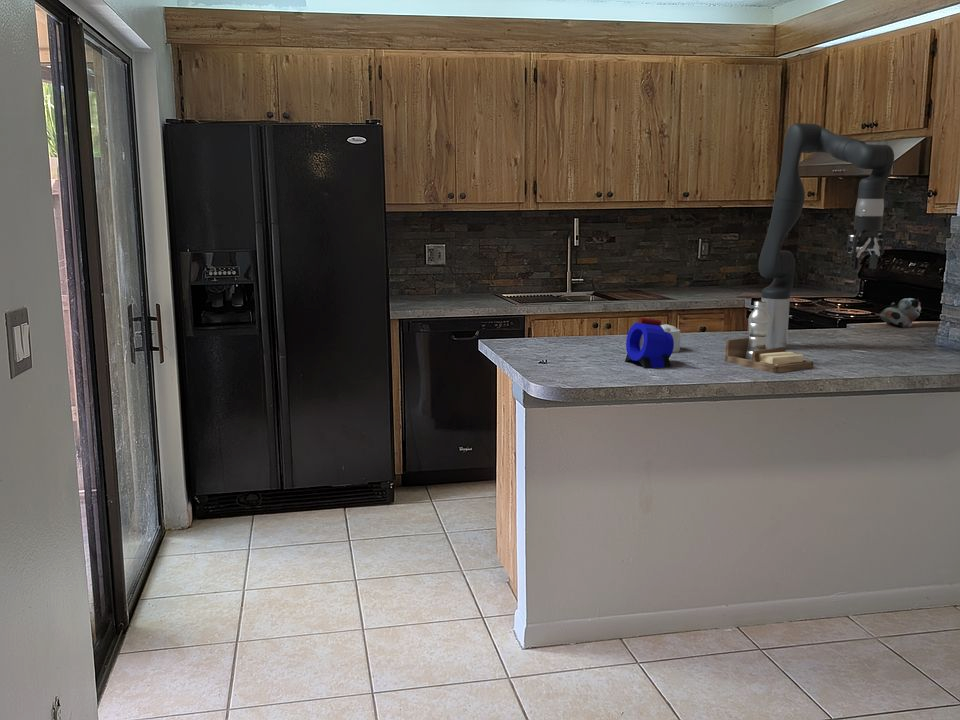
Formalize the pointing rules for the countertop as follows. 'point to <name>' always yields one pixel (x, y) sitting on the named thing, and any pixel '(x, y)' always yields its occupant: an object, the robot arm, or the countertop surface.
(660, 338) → the alarm clock
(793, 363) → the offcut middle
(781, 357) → the offcut top
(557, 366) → the countertop surface
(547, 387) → the countertop surface
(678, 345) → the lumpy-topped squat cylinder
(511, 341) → the countertop surface
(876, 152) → the robot arm
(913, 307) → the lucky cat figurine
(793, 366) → the walnut rack
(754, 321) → the silver metal bottle
